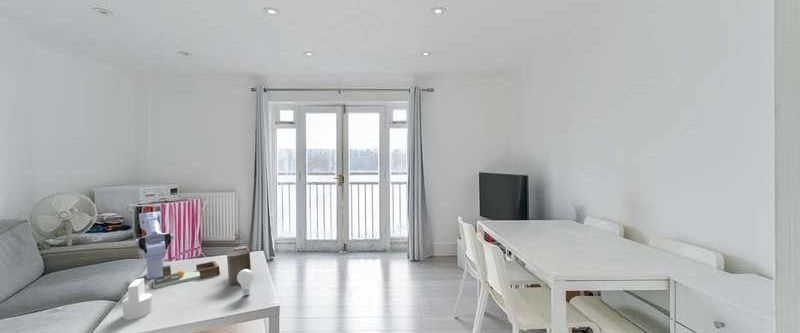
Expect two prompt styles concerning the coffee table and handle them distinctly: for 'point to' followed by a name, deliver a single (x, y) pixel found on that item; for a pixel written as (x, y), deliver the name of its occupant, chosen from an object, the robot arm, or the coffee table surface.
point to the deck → (180, 279)
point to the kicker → (166, 272)
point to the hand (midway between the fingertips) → (156, 249)
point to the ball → (180, 273)
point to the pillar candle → (237, 264)
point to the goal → (208, 269)
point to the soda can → (241, 248)
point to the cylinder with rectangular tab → (137, 301)
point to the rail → (165, 279)
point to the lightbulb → (245, 280)
